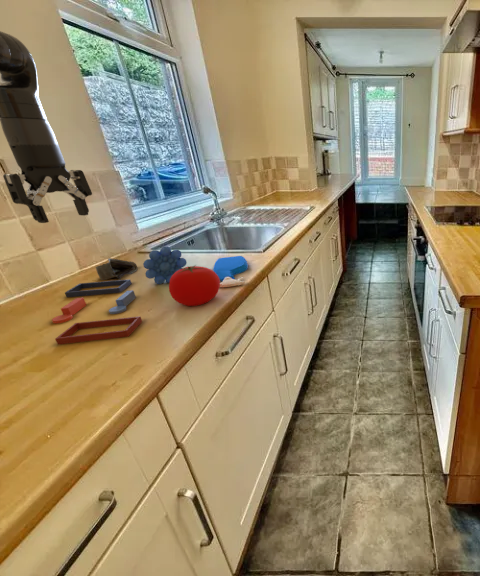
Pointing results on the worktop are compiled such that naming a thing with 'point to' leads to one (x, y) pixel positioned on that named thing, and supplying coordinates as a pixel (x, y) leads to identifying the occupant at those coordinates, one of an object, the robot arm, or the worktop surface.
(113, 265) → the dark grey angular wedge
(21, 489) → the worktop surface
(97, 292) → the blue tray
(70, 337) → the red tray
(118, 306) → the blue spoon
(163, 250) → the blue flower
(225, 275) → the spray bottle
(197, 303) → the tomato
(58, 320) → the red long stepped block
